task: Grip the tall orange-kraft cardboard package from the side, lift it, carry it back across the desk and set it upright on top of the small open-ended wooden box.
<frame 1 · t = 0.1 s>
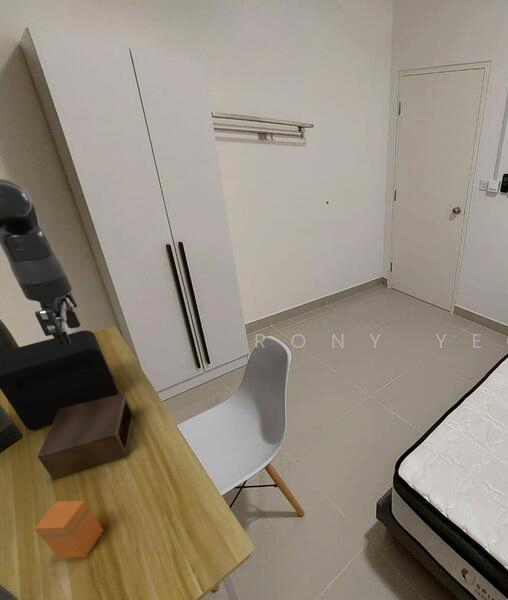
hand: (70, 335, 80), 31 cm above the table, tool pointing down, fingers open, 8 cm apart
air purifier: (76, 401, 101), on the table
open-ended wooden box: (98, 444, 88), on the table
package: (82, 544, 68), on the table
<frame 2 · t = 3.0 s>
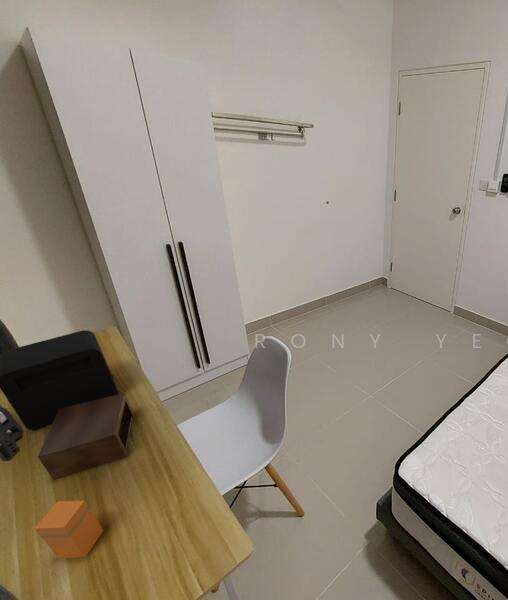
nothing on the table moved.
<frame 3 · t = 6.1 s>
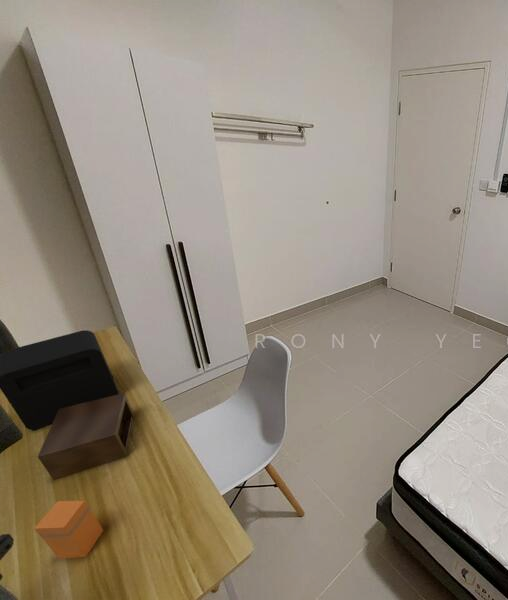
nothing on the table moved.
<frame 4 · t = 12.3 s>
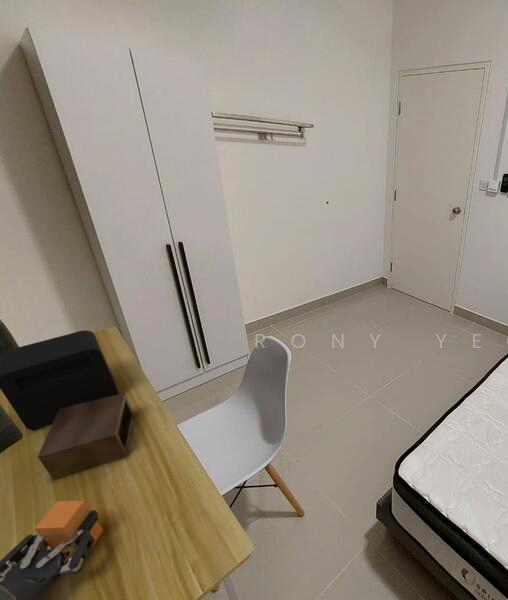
hand: (80, 513, 67), 7 cm above the table, tool horizontal, fingers closed on package, 5 cm apart
package: (82, 544, 68), on the table, touching gripper
everything else where it was.
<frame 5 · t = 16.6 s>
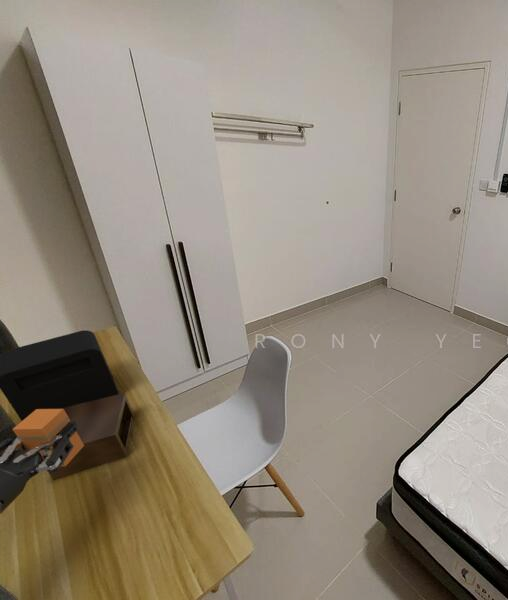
hand: (60, 424, 68), 22 cm above the table, tool horizontal, fingers closed on package, 5 cm apart
package: (62, 456, 68), point 15 cm above the table, touching gripper
everything else where it was.
when the fingers open (16 cm above the table, at t = 21.3 s): package stays where it is, resting on open-ended wooden box.
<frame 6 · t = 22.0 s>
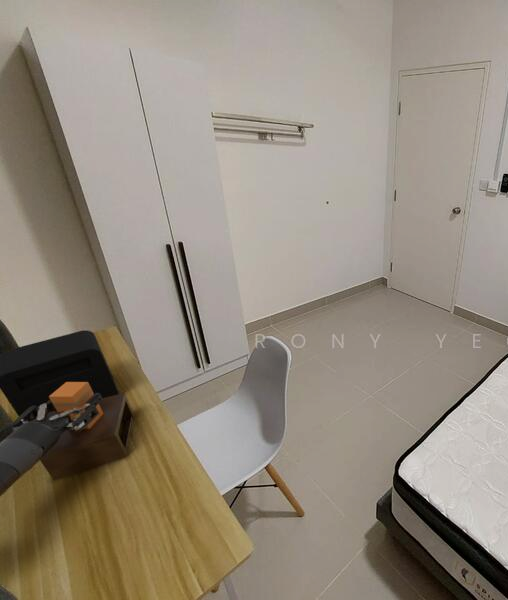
hand: (81, 395, 82), 16 cm above the table, tool horizontal, fingers open, 8 cm apart
package: (86, 421, 84), point 9 cm above the table, touching open-ended wooden box
everything else where it was.
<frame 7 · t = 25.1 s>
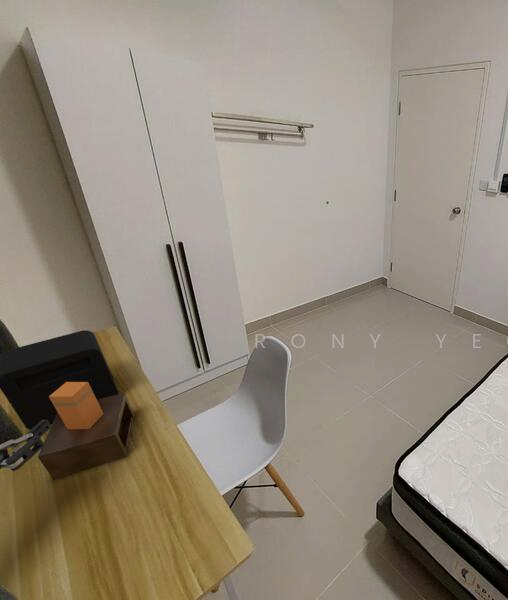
hand: (25, 422, 69), 21 cm above the table, tool horizontal, fingers open, 8 cm apart
nothing on the table moved.
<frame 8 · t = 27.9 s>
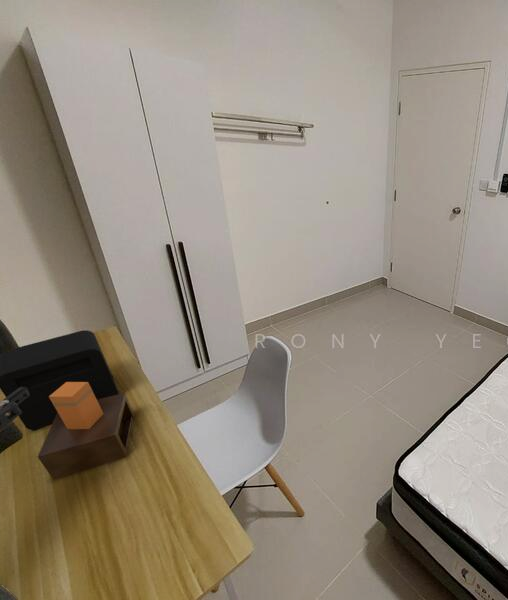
hand: (2, 390, 64), 30 cm above the table, tool horizontal, fingers open, 8 cm apart
nothing on the table moved.
at the end: package inside the target area on the open-ended wooden box (0.1 cm from its centre), point 9.0 cm above the open-ended wooden box's base; package tilted 0° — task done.
